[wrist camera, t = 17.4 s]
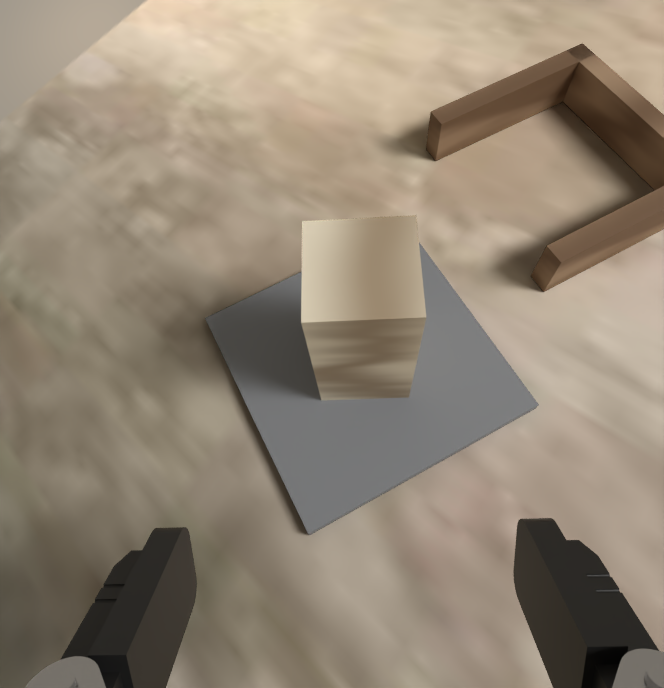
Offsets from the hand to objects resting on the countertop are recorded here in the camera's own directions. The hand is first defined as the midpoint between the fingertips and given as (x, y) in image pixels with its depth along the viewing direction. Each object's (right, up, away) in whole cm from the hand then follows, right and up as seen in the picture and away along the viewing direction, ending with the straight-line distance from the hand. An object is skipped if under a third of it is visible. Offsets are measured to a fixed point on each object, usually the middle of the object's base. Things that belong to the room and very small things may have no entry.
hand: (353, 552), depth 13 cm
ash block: (+1, +4, +15) cm, 16 cm away
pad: (+1, +4, +16) cm, 16 cm away
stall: (+13, +15, +20) cm, 28 cm away
